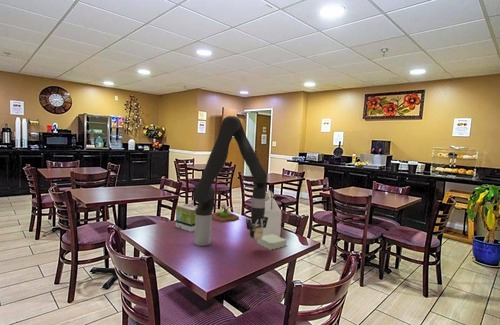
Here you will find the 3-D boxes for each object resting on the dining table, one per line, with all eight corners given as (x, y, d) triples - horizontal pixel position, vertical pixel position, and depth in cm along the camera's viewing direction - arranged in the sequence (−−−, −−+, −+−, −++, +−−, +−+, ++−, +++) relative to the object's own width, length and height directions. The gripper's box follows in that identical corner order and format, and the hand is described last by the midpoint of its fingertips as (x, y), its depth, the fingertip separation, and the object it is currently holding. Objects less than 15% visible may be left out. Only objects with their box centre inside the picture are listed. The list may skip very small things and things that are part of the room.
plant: (206, 218, 220) (206, 203, 220) (226, 214, 233) (227, 201, 233) (221, 224, 206) (222, 209, 205) (242, 220, 219) (243, 206, 218)
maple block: (249, 236, 158) (250, 226, 158) (256, 235, 161) (257, 224, 161) (255, 239, 154) (255, 228, 154) (262, 238, 157) (263, 227, 157)
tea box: (174, 227, 192) (175, 205, 191) (186, 224, 200) (186, 203, 199) (190, 232, 184) (191, 209, 183) (201, 229, 192) (202, 207, 191)
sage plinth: (257, 243, 170) (257, 237, 170) (272, 240, 177) (272, 233, 177) (270, 250, 160) (270, 243, 160) (286, 246, 167) (286, 239, 167)
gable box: (280, 238, 181) (282, 194, 179) (259, 238, 180) (261, 193, 178) (274, 228, 203) (277, 188, 201) (256, 227, 202) (258, 187, 200)
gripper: (264, 203, 163) (261, 232, 165) (243, 205, 155) (241, 236, 156) (272, 206, 158) (270, 236, 159) (252, 208, 149) (249, 240, 150)
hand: (255, 236), depth 158 cm, fingers closed on maple block, 5 cm apart
